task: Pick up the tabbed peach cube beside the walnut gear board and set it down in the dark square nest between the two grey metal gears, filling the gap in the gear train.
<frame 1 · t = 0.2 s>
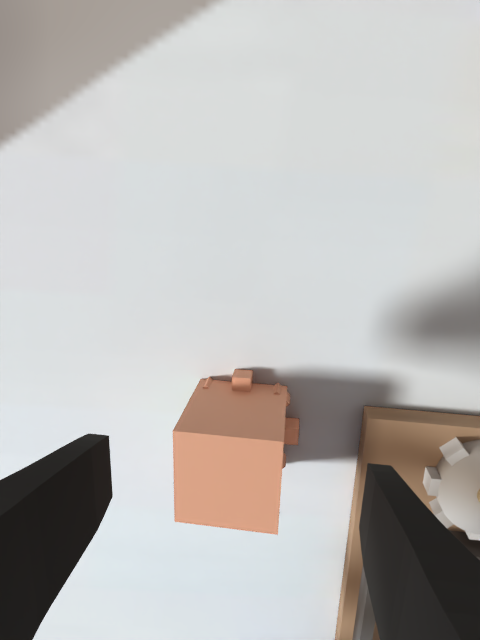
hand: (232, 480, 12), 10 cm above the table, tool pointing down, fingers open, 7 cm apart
tabbed peach cube: (242, 421, 22), on the table
gear board: (445, 587, 23), on the table
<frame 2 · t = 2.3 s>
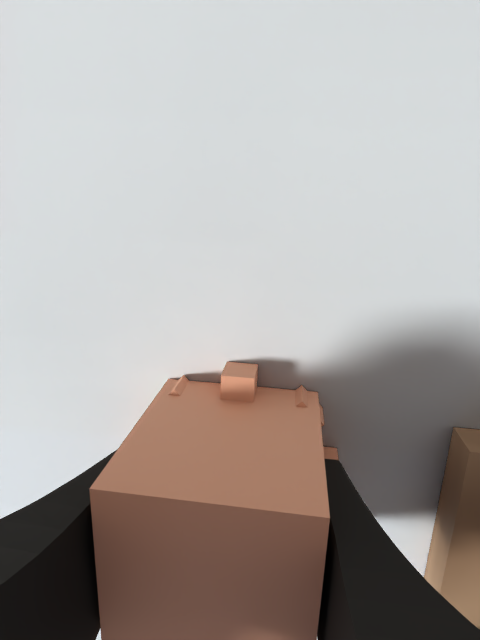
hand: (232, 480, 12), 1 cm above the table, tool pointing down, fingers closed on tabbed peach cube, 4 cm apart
tabbed peach cube: (239, 450, 13), on the table, touching gripper
when the fingers open (4 cm above the table, at t = 7.1 s): tabbed peach cube drops 1 cm, resting on gear board.
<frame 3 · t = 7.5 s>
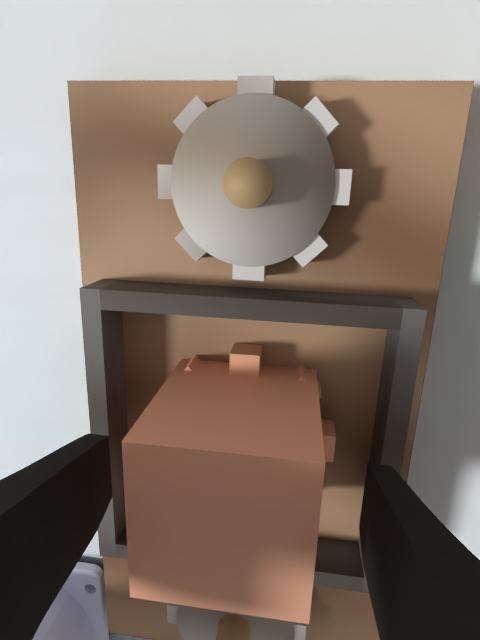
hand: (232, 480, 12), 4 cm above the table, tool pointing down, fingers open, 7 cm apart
tabbed peach cube: (245, 424, 14), point 1 cm above the table, touching gear board
gear board: (249, 409, 16), on the table
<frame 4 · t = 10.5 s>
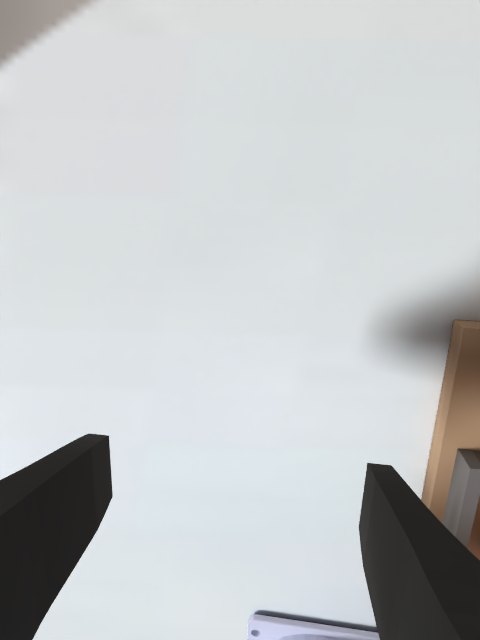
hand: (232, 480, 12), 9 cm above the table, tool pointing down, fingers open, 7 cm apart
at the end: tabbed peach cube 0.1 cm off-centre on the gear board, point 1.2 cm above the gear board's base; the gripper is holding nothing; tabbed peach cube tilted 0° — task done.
